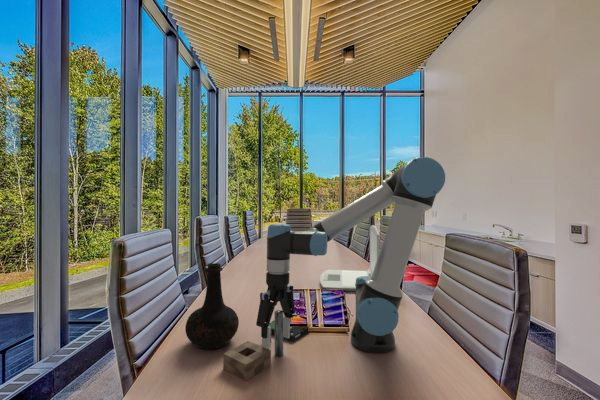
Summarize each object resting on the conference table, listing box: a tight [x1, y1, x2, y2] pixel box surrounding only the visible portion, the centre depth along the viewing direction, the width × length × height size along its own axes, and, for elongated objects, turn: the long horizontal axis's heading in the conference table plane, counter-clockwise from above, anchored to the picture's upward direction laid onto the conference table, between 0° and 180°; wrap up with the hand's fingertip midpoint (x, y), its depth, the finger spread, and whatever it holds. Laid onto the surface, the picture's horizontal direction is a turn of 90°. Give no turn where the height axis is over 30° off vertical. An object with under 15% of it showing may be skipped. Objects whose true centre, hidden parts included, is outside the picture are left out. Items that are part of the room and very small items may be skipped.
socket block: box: [222, 340, 272, 382], centre depth 89 cm, size 10×10×4 cm
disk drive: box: [269, 319, 310, 343], centre depth 113 cm, size 10×3×15 cm
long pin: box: [273, 309, 284, 358], centre depth 96 cm, size 3×3×14 cm
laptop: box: [319, 224, 381, 292], centre depth 181 cm, size 42×33×35 cm
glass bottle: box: [184, 262, 240, 350], centre depth 104 cm, size 18×18×28 cm
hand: (276, 342), depth 95 cm, fingers open, 9 cm apart
